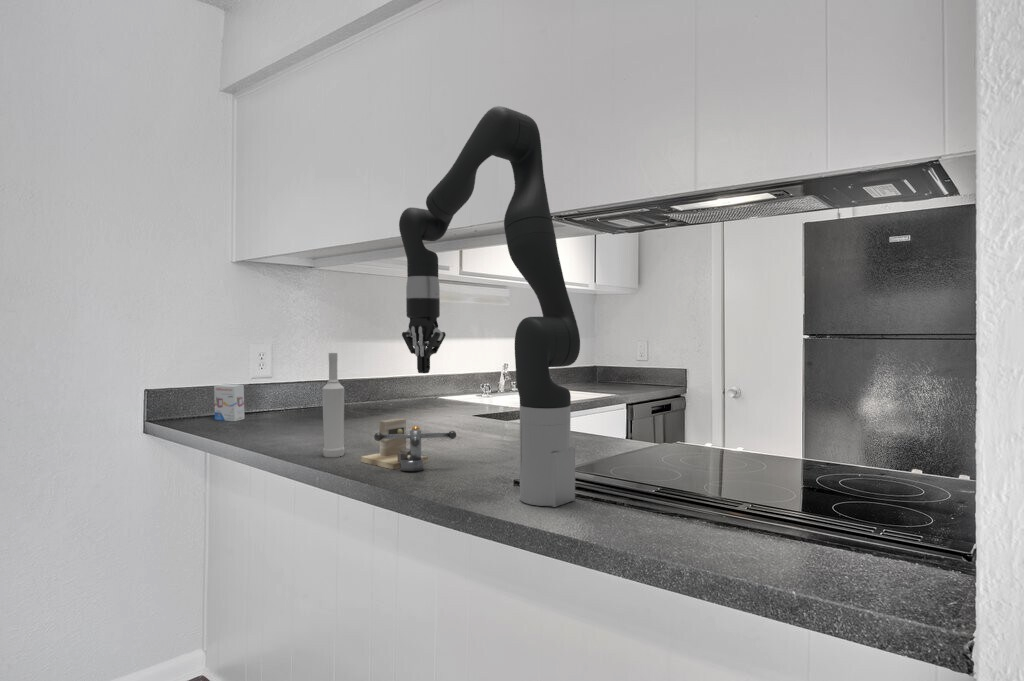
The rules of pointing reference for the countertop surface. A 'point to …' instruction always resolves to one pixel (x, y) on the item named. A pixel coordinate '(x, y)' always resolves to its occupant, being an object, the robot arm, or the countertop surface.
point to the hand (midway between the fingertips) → (423, 372)
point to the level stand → (391, 446)
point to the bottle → (333, 412)
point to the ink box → (229, 402)
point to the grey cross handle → (414, 446)
